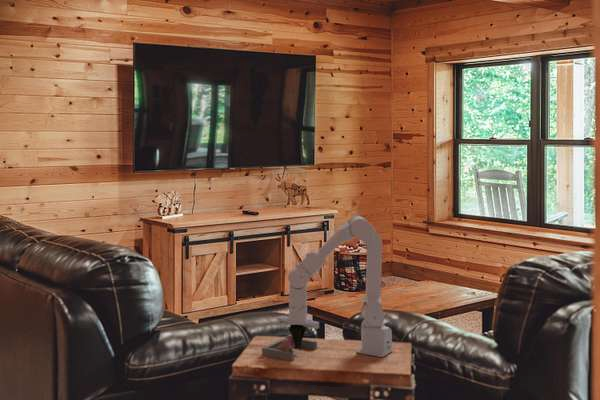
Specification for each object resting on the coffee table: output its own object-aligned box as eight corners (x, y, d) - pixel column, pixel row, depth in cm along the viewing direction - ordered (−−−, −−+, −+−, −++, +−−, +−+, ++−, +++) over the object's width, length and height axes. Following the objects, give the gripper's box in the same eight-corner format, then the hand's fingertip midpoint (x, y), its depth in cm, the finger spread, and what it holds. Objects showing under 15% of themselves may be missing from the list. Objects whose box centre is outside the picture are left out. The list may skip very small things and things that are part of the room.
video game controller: (283, 361, 235) (292, 342, 233) (271, 353, 236) (280, 335, 235) (295, 352, 244) (304, 334, 242) (284, 345, 246) (292, 327, 244)
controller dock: (317, 348, 243) (317, 341, 243) (291, 361, 230) (291, 353, 230) (288, 343, 249) (288, 336, 249) (262, 355, 236) (262, 347, 236)
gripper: (272, 305, 237) (272, 347, 238) (311, 311, 229) (311, 354, 230) (284, 301, 243) (284, 342, 244) (322, 306, 235) (322, 348, 236)
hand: (298, 347), depth 238 cm, fingers closed
